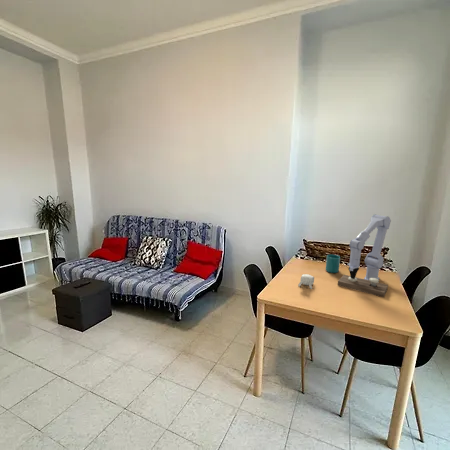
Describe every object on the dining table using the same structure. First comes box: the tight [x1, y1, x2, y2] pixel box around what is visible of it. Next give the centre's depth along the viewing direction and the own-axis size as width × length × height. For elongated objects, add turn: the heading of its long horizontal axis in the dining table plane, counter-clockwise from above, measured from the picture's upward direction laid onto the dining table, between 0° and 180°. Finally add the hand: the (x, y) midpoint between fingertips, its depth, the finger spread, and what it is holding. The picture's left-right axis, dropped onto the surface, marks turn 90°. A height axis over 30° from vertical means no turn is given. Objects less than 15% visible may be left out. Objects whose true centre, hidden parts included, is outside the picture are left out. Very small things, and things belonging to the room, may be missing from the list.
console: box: [337, 274, 389, 298], centre depth 170 cm, size 14×26×3 cm, turn 51°
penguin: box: [297, 273, 315, 290], centre depth 170 cm, size 9×8×15 cm
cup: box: [325, 254, 341, 274], centre depth 197 cm, size 9×12×11 cm
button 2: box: [369, 278, 380, 287], centre depth 165 cm, size 5×5×4 cm
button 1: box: [348, 277, 358, 282], centre depth 173 cm, size 5×5×4 cm
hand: (352, 278), depth 173 cm, fingers closed, pressing on button 1
